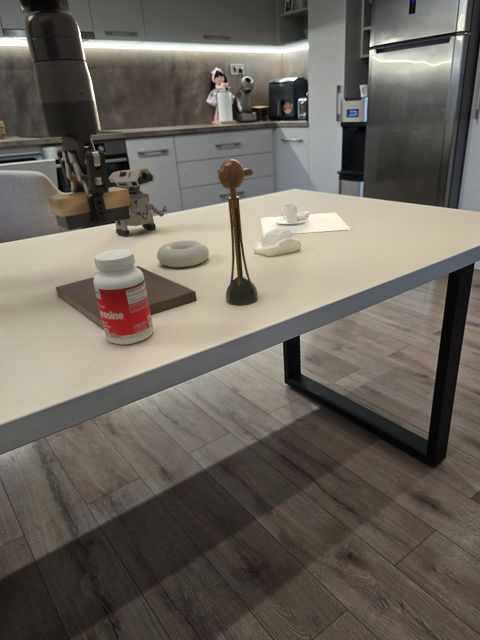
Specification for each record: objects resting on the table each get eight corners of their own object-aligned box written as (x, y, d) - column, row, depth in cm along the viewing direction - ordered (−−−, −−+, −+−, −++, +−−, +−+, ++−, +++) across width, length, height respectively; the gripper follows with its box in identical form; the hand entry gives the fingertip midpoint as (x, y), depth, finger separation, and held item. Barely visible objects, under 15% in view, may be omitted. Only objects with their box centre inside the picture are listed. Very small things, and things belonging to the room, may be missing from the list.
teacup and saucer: (308, 217, 122) (308, 201, 121) (312, 224, 115) (312, 207, 114) (274, 220, 122) (273, 203, 121) (276, 227, 115) (275, 209, 114)
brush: (65, 230, 71) (57, 199, 69) (54, 226, 75) (47, 196, 73) (133, 217, 77) (128, 188, 75) (120, 214, 81) (115, 186, 79)
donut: (213, 254, 97) (164, 255, 98) (211, 237, 96) (162, 239, 97) (205, 269, 88) (152, 270, 89) (203, 251, 87) (149, 252, 88)
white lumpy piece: (292, 234, 89) (244, 233, 92) (293, 258, 91) (246, 256, 94) (306, 222, 97) (261, 222, 100) (306, 244, 99) (262, 243, 102)
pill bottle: (97, 338, 63) (77, 257, 58) (135, 322, 67) (119, 245, 62) (125, 350, 60) (106, 264, 55) (163, 332, 64) (149, 251, 59)
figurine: (138, 240, 112) (126, 172, 105) (113, 234, 119) (100, 170, 113) (170, 232, 118) (161, 167, 111) (144, 226, 125) (133, 165, 118)
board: (104, 329, 66) (101, 319, 65) (57, 295, 80) (55, 286, 79) (196, 300, 74) (195, 291, 73) (139, 273, 88) (138, 265, 87)
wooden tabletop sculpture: (248, 290, 77) (238, 155, 68) (268, 296, 74) (261, 156, 64) (220, 300, 73) (205, 160, 64) (240, 307, 70) (227, 161, 61)
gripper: (112, 95, 65) (135, 221, 73) (76, 101, 76) (99, 211, 83) (56, 97, 61) (87, 230, 69) (26, 103, 72) (55, 218, 79)
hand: (93, 219), depth 76 cm, fingers closed on brush, 5 cm apart
